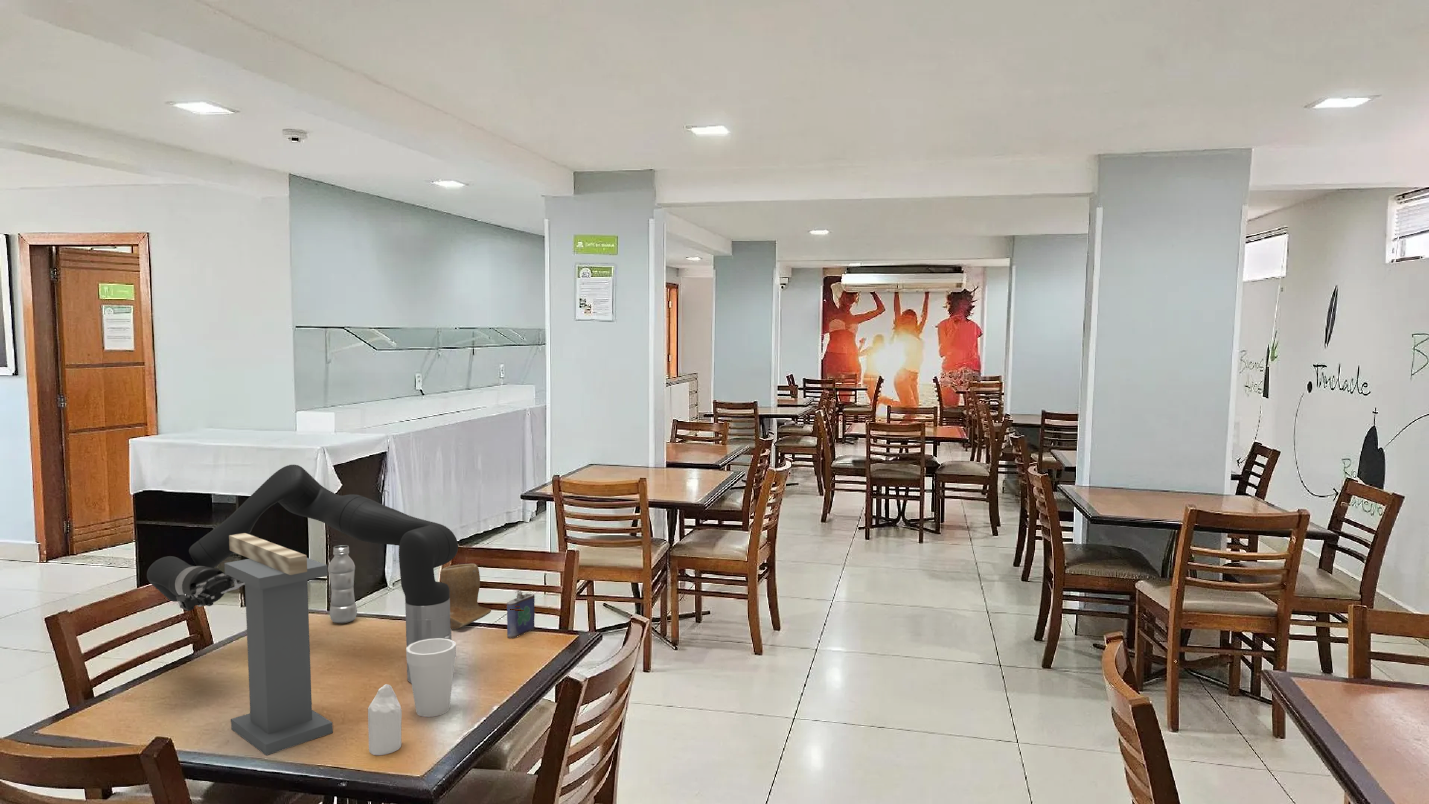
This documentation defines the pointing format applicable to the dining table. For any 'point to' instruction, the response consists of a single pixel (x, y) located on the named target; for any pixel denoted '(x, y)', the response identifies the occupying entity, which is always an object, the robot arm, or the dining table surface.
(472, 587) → the brown curved chair
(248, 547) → the light wooden bar
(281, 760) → the dining table surface
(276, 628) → the stand
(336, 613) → the plastic bottle
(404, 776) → the dining table surface
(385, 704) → the white pointed cylinder
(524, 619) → the flask
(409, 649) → the foam cup
